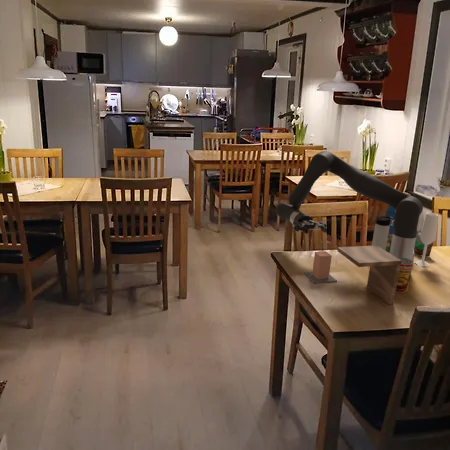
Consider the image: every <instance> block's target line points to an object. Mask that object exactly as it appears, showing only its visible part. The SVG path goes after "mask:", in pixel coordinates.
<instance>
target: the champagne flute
mask: <svg viewBox="0 0 450 450" xmlns="http://www.w3.org/2000/svg"><path fill="white" fill-rule="evenodd" d="M438 219H439V214H437V213H435V212H426V214H425V217H424V220H423V224H422V227H421V229H420V230H421V233H420V239H421V241H422V242H423V243H424V244H425V245H424V250H423V255H422V256H421V259H420V260H417V261H415V263H416V264H417V265H416V264H415V263H414V264H415V265H416V266H418V265H420V266H419V267H421V266H429V265H430V264H429V263H428V262H427V261H426V260H425V259H426V257H425V255H426V250H427V245H428V244H431V243H432V242H433V243H435V241H436V240H437V239H436V238H437V230H438V229H437V228H438ZM429 267H430V266H429Z"/></svg>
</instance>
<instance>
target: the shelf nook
mask: <svg viewBox="0 0 450 450" xmlns="http://www.w3.org/2000/svg"><path fill="white" fill-rule="evenodd" d="M336 249H337V250H336V251H337V252H338V253H339V254H340V255H342V256H343V257H344V258H346V259H348V261H350V262H351V263H352V264H354V265H355V266H357V267H358V268H365V267H366V268H369V271H368V276H367V277H368V278H367V284H366V288H368V289H369V290H370V291H371V292H373V293H374V294H375V295H377V297H378V298H380V299H382V301H384V302H385V303H387V305H389V306H393V305H394V303H395V296H396V293H397V292H396V287H397V282H398V277H399V271H400V266H401V260H399V259H398V258H396V257H395V256H393V255H391V254H390V253H389V252H387V251H385V250H383V249H382V248H380V247H378V246H372V245H362V246H361V245H360V246H359V245H358V246H337V248H336Z"/></svg>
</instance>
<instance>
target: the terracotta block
mask: <svg viewBox="0 0 450 450" xmlns="http://www.w3.org/2000/svg"><path fill="white" fill-rule="evenodd" d="M332 257H333V256H332V255H331V254H330V252H328V251H327V250H325V251H322V250H321V251H314V257H313V264H312V271H311V272H312V275H314V276H315V277H316V278H317V279H329V274H330V272H331V264H332Z"/></svg>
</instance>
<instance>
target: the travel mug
mask: <svg viewBox="0 0 450 450" xmlns="http://www.w3.org/2000/svg"><path fill="white" fill-rule="evenodd" d="M391 219H392V218H391V217H386V216H385V215H384V216H383V215H381V216H377V217H376V218H375V224H374V231H373V235H372V237H373V238H372V242H371V246H378V247H380V248H382V249H383V250H386V244H387V239H388V233H389V227H390V221H391Z"/></svg>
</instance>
